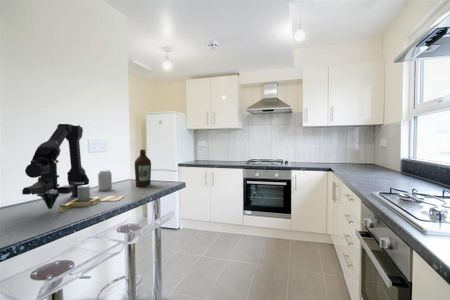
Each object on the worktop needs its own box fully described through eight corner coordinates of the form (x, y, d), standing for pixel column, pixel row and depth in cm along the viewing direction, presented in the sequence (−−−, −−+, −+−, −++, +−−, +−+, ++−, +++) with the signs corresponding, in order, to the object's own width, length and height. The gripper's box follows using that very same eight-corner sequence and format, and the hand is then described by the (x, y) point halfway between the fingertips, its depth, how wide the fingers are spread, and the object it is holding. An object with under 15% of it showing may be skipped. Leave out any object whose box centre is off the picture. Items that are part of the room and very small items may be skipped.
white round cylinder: (75, 205, 107) (75, 187, 106) (81, 202, 112) (81, 185, 111) (86, 205, 107) (86, 187, 107) (92, 202, 112) (91, 184, 112)
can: (96, 191, 137) (96, 171, 136) (100, 188, 144) (99, 170, 143) (110, 190, 139) (109, 171, 138) (113, 188, 146) (112, 169, 145)
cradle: (70, 205, 107) (69, 201, 107) (78, 201, 115) (78, 197, 115) (93, 204, 108) (93, 200, 108) (101, 200, 116) (101, 196, 115)
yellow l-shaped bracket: (58, 211, 98) (58, 205, 98) (70, 206, 106) (70, 200, 106) (80, 211, 98) (80, 205, 98) (90, 205, 107) (90, 199, 107)
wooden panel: (99, 201, 114) (99, 200, 114) (107, 196, 123) (107, 196, 123) (117, 201, 115) (117, 200, 115) (124, 196, 124) (124, 195, 124)
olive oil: (133, 185, 154) (133, 149, 152) (149, 183, 159) (148, 149, 158) (136, 188, 145) (135, 150, 143) (153, 186, 150) (152, 149, 149)
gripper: (10, 177, 89) (11, 215, 90) (59, 176, 91) (60, 214, 92) (31, 173, 100) (33, 207, 101) (75, 172, 102) (76, 206, 103)
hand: (50, 208), depth 99 cm, fingers closed
